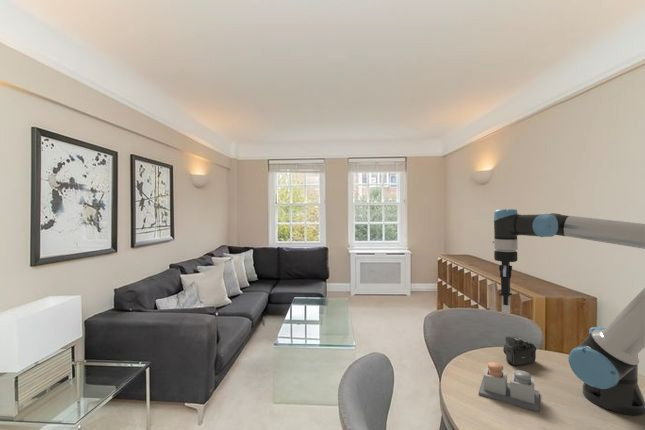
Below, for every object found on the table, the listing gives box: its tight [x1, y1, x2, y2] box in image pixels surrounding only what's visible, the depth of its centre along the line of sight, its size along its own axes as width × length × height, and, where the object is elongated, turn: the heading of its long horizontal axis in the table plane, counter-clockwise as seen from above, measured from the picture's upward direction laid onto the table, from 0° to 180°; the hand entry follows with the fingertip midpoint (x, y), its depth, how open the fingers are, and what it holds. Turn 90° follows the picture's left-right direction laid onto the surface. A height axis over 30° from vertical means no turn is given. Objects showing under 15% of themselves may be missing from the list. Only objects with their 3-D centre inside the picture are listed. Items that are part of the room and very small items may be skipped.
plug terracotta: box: [487, 361, 504, 378], centre depth 109 cm, size 5×5×6 cm
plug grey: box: [513, 369, 532, 385], centre depth 105 cm, size 5×5×6 cm
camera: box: [502, 336, 537, 367], centre depth 130 cm, size 13×10×10 cm
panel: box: [478, 366, 540, 413], centre depth 107 cm, size 17×12×6 cm
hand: (506, 312), depth 117 cm, fingers closed
